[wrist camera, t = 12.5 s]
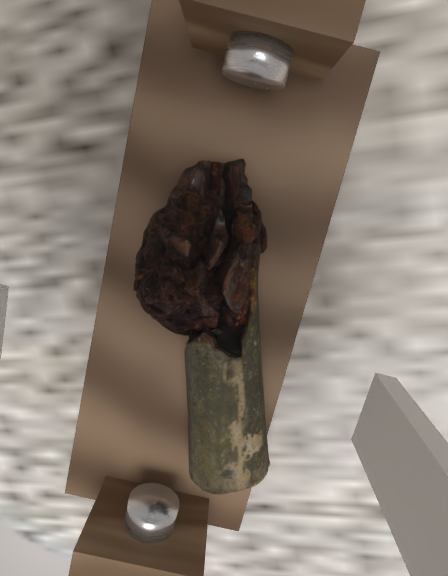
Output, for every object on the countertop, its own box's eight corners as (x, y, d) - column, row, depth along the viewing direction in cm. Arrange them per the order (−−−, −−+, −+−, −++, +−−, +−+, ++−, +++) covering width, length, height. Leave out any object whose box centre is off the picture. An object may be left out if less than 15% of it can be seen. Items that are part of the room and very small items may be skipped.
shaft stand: (158, 5, 23) (123, -80, 16) (370, 60, 23) (433, 2, 16) (73, 478, 30) (21, 571, 23) (238, 514, 30) (240, 618, 23)
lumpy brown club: (267, 445, 27) (274, 511, 22) (163, 447, 28) (145, 512, 22) (262, 160, 23) (269, 153, 18) (140, 166, 24) (110, 160, 18)
